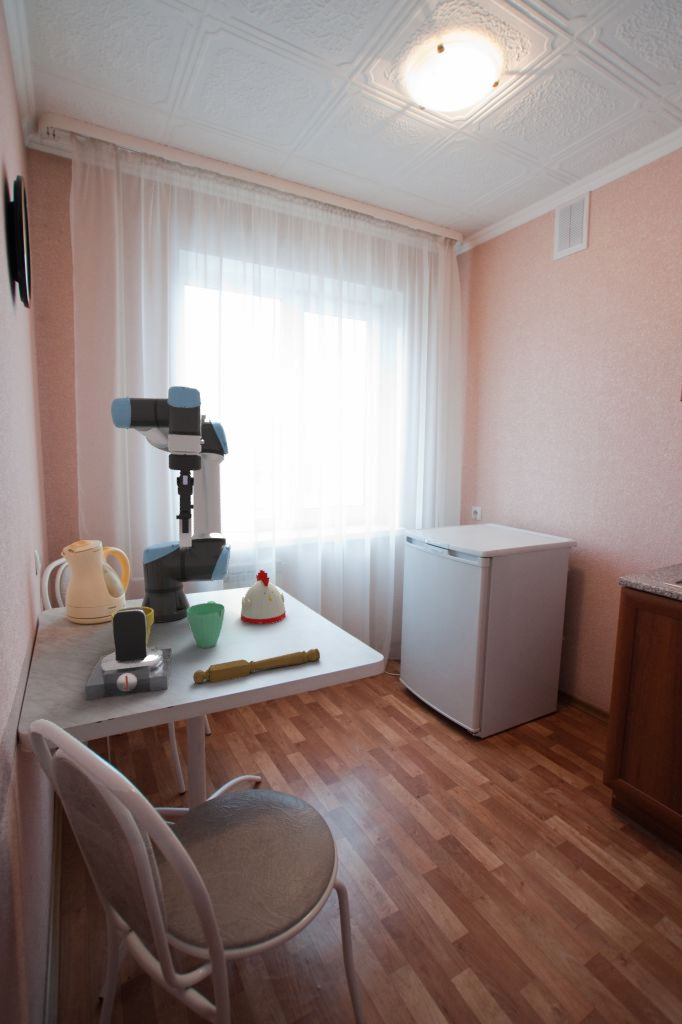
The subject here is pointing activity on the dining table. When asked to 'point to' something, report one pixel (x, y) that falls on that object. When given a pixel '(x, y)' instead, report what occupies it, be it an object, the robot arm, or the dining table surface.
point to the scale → (130, 674)
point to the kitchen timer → (262, 602)
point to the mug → (206, 622)
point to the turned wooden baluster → (252, 666)
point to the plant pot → (149, 618)
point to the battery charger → (130, 634)
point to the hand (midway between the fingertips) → (185, 540)
